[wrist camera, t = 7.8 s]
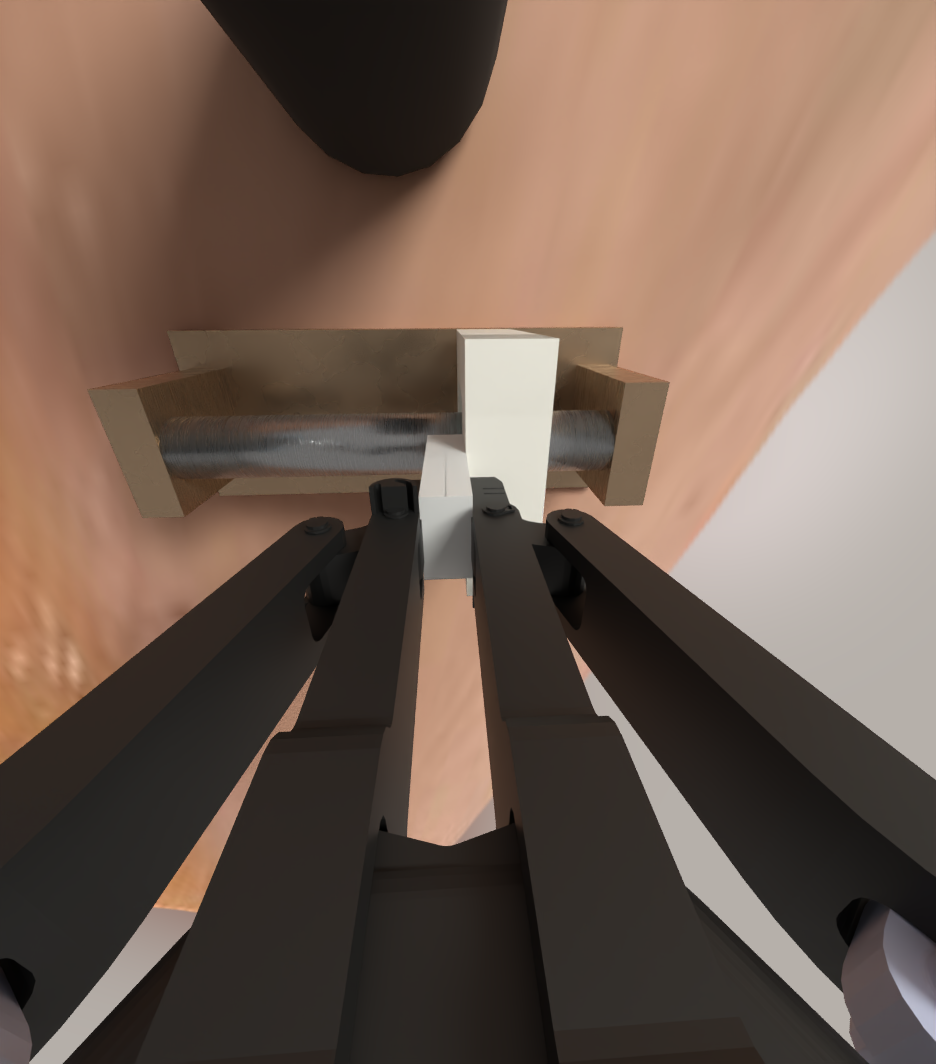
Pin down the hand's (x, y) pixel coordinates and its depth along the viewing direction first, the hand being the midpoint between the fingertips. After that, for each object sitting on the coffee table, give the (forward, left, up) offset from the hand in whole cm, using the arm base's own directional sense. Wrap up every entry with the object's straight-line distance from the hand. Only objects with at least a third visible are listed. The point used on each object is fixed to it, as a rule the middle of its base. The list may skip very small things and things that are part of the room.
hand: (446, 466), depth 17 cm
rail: (-2, 0, -10) cm, 11 cm away
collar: (+2, 0, -8) cm, 9 cm away
